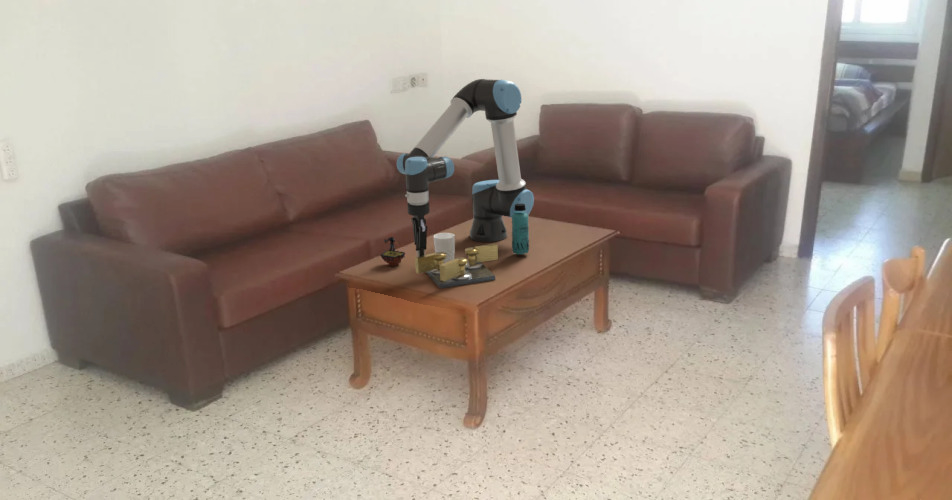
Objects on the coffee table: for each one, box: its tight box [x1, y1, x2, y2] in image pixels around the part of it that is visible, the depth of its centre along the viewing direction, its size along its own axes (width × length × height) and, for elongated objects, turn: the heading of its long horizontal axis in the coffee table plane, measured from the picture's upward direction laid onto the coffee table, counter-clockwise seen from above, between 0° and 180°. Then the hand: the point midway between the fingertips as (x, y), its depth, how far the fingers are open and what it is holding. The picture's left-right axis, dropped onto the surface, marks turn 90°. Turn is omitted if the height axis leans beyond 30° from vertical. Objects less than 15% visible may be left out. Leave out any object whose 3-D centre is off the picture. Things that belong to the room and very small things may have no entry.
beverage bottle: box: [511, 203, 530, 255], centre depth 295 cm, size 6×7×20 cm
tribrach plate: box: [425, 261, 496, 289], centre depth 279 cm, size 20×18×3 cm
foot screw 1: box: [414, 252, 446, 274], centre depth 277 cm, size 12×5×6 cm, turn 125°
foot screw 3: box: [464, 243, 499, 265], centre depth 284 cm, size 12×5×6 cm, turn 109°
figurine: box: [380, 234, 406, 267], centre depth 292 cm, size 10×8×12 cm
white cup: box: [433, 232, 456, 263], centre depth 294 cm, size 8×8×10 cm
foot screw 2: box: [440, 257, 469, 281], centre depth 270 cm, size 12×5×6 cm, turn 139°
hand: (421, 266), depth 279 cm, fingers closed
